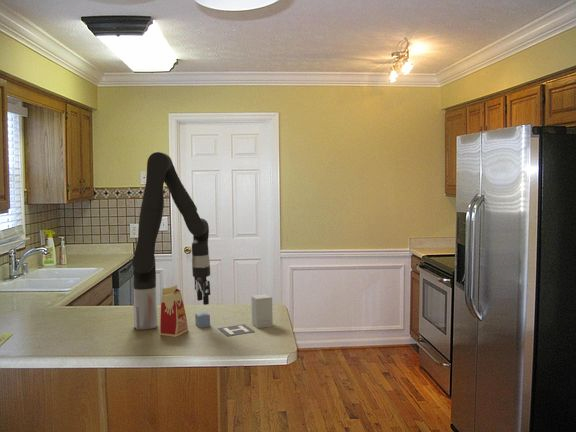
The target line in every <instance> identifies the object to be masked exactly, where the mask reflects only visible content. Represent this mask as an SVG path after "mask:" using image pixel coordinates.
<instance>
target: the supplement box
mask: <svg viewBox="0 0 576 432" xmlns="http://www.w3.org/2000/svg"><path fill="white" fill-rule="evenodd" d="M250 297H251V301H250V302H251V324H252V325H253V326H254V327H255V328H256V329H259V328H261V329H262V328H270V327H273V326H274V323H273V322H274V321H273V319H274V318H273V297H272V296H270V295H269V294H268V293H262V294H253V295H251V296H250Z"/></svg>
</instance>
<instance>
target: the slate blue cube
mask: <svg viewBox="0 0 576 432" xmlns="http://www.w3.org/2000/svg"><path fill="white" fill-rule="evenodd" d="M194 315H195V320H194V321H195V325H196V326H197V328H206V327H211V314H209V313H208V312H207V311H205V312H197V313H195V314H194Z"/></svg>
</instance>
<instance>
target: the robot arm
mask: <svg viewBox="0 0 576 432" xmlns="http://www.w3.org/2000/svg"><path fill="white" fill-rule="evenodd" d="M145 178H146V179H145V186H144V191H143V195H142V200H141V205H140V211H139V218H138V219H139V220H138V237H137V242H136V247H135V250H134V254H133V257H132V259H131V260H132V261H131V265H132V269H133V283H132V284H133V301H134V303H133V305H132V306H133V323H134V324H133V326H134V328H135V329H136V331H138V330H139V331H140V330H152V329H155V328H157V327H158V307H157V305H158V304H157V275H156V274H157V270H156V256H155V252H156V242H157V239H158V235H159V232H160V228H161V224H162V220H163V215H164V210H165V209H164V208H165V207H164V206H165V202H164V201H165V200H164V197H165V195H164V184H165V186H166V188H167V189H168V191H169V193H170V196H171V198H172V200H173V203H174V205H175V206H176V208H177V210H178V211H179V213H180V215H181V216H182V218H183V220H184V223H185V225H186V228H187V230H188V231H189V233H190V234H191V235H193V237H192V240H193V241H192V243H191V267H192V268H191V269H192V277H193V278H194V290H195V292H196V299H197V301H202V304H203V305H205V306H206V305H209V304H210V300H209V298H210V297H209V296H210V295H211V285H210V283H211V282H210V280H207V277H210V276H211V264H210V263H211V262H210V261H211V259H210V254H209V235H210V233H209V232H210V229H209V228H210V227H209V223H208V221H207V220H206V219H204V218H201V217H200V215H199V213H198V207H197V206H196V204H195V202H194V200H193V198H192V196H190V194H189V192H188V191H187V190H186V188H185V186H184V184H183V182H182V180H181V179H180V177H179V175H178V173H177V171H176V168H175V166H174V163H173V161H172V158H171V157H170V156H169V155H168V154H167V153H164V152H161V151H154V152H153V153H151V154H150V155H149V156H148V158H147V163H146V175H145Z"/></svg>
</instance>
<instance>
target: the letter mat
mask: <svg viewBox="0 0 576 432" xmlns="http://www.w3.org/2000/svg"><path fill="white" fill-rule="evenodd" d="M217 329H218V330H219V331H220V332H221V333H223V334H224V335H225V336H226V337H233V336H240V335H243V334H250V333H255V332H256V331H255V330H254V329H252V328H251V327H249V326H248V325H246V324H245V323H244V324H235V325H230V326H224V327H217Z"/></svg>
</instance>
